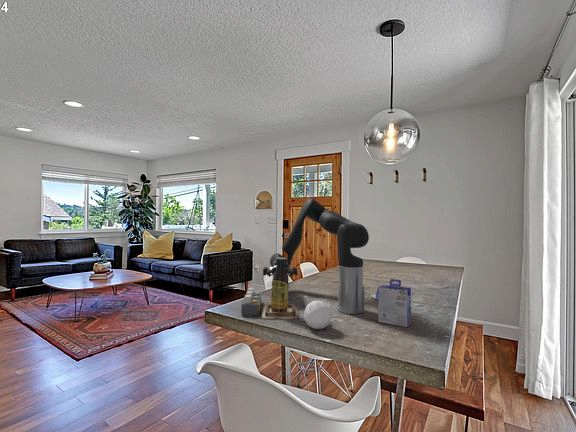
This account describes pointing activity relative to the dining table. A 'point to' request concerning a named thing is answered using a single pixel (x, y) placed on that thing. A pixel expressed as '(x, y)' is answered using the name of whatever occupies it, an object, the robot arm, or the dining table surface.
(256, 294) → the breaker bank
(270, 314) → the square beige tray
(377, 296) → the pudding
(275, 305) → the sauce bottle
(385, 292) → the ink cartridge box
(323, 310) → the faceted ball with stub
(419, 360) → the dining table surface
